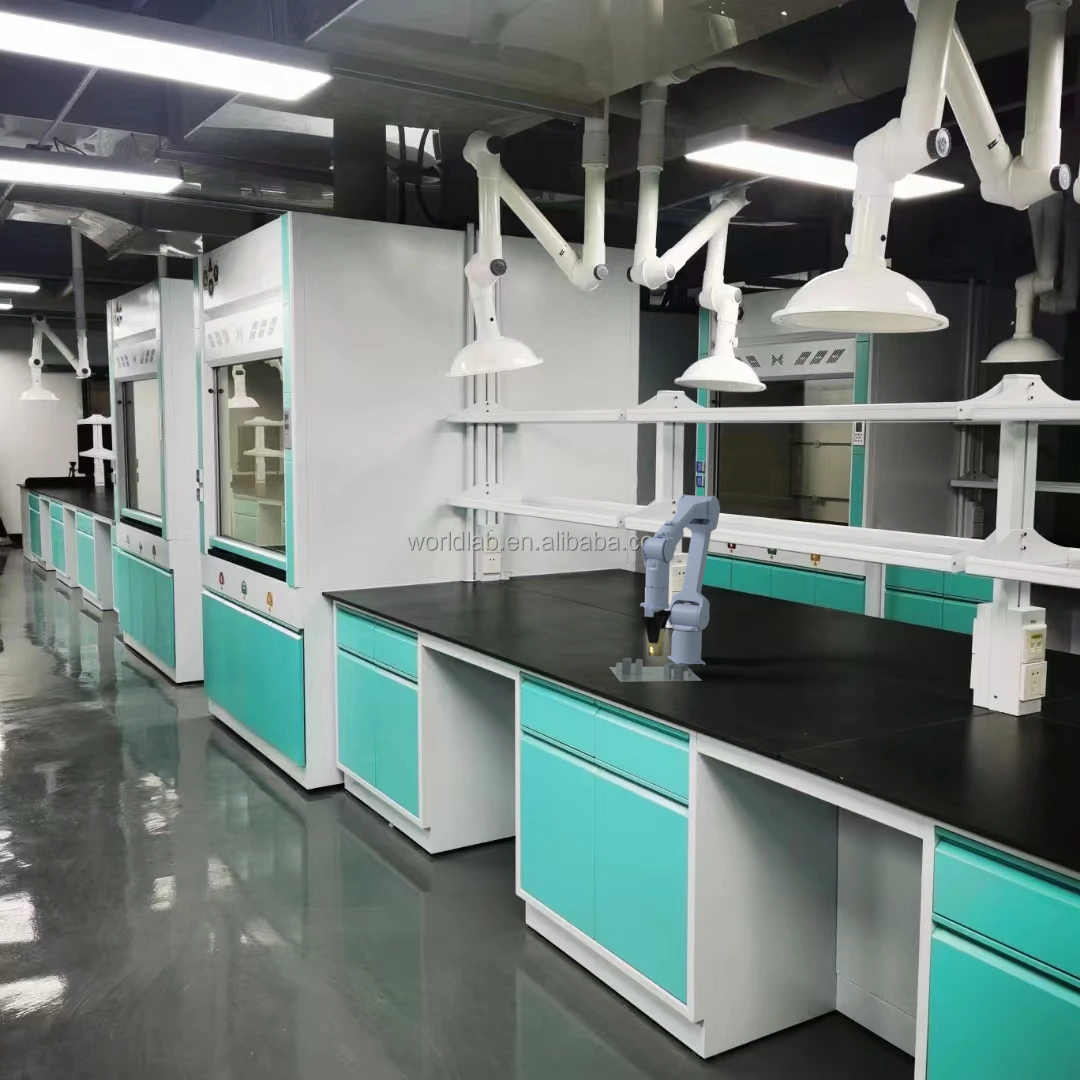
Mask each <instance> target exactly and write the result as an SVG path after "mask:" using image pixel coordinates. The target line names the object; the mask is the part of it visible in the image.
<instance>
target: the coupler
mask: <svg viewBox="0 0 1080 1080" xmlns="http://www.w3.org/2000/svg"><path fill="white" fill-rule="evenodd" d="M646 646H647V647H646V649H647V650H646V651H647V652H646V653H647V654H646V655H647V656H650V657H662V656H663V657H664V649H665V647H664V646H665V632H664V628H661V629H660V635H659V640H658V643H657V644H656V643H649V641H648V640H647V645H646Z"/></svg>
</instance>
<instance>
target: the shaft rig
mask: <svg viewBox="0 0 1080 1080" xmlns="http://www.w3.org/2000/svg"><path fill="white" fill-rule="evenodd" d="M643 661H644V660H643V659H641V658H636V659H635V662H632V657H623V658H622V661H621V662H616V663H615V665H616V666H609V667H608V668H609V669H610V670H611V671H612V673H613V674H614V676H615V677H616V678H617V679H618V681H619V682H620V683H622V682H625V683H626V682H628V683H629V682H686V681H687V682H689V681H690V682H695V681H696V682H699V681H700V682H701V681H703V680H702V679H701V678H700V677H699V676H698V675H697V674H695V672H693V669H690V668H689V664H687V663H678V664H675V663H674V662H673V661H670V662H667V663H664V664H663V666H643Z"/></svg>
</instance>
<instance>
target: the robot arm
mask: <svg viewBox="0 0 1080 1080" xmlns="http://www.w3.org/2000/svg"><path fill="white" fill-rule="evenodd" d="M676 506H677V507H676V508H677V509H676V513H675V514H674V516H673V517H672V519H671V520H666V521H665V522H664V523H663V524H662V526H661V527H660V528H659V529H658V531H657V532H656V533H655V535H654V536H653V537H649V538H648V537H647V539H645V540H644V542H643V545H642V549H641V556H642V559H643V567H644V568H645V589H644V590H645V593H644V594H645V595H644V597H645V598H644V602H641V603H639V604H640V606H639V607H641V608H642V607H643V608H644V612H643V613H641V614H640V616H641V619H642V622H643V624H644V626H645V630H646V637H647V642H648V641H649V643H656V644H657V643H658V640H659V635H660V629H661V628H664V633H665V632H666V628H667V624H668V623H669V625H670V626H671V629H673V632H672V634H671V649H670V650H671V654H670V655H667V658H668V659H669V660H671V662H673V663H675V665H676V664H678V663H687V664H688V665H695V664H696V665H700V664H702V665H703V666H705V665H707V664H706V662H705V661H703V660H702V640H703V639H702V635H703V630H705V629H706V628H707V626H708V625H709V621H710V602H709V600H708V598H707V597H705V595H703V594H702V588H703V583H704V575H705V570H706V565H707V559H708V552H709V547H710V541H711V533H712V531H715V530H716V529H717V528H718V524H719V516H720V511H721V507H720V506H721V505H720V503H719V499H718V498H717V496H716V495H711V496H709V495H708V496H707V495H689V494H681V496H680V497H679V498H678V500H677V505H676ZM685 528H687V529H688V530H690V532H691V536H690V542H689V548H688V553H687V554H688V555H687V560H686V565H685V571H684V576H683V583H682V589H681V590H680V591H679V592H677V593H676V594H674V595H673V596H672V598H671V601H670V604H669V595H670V592H669V591H670V563H671V562H672V560H673V559H674V556H675V551H676V550H677V545H678V544H679V542H680V541H681V540H682V539H683V537H684V533H685V532H684V529H685Z"/></svg>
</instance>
